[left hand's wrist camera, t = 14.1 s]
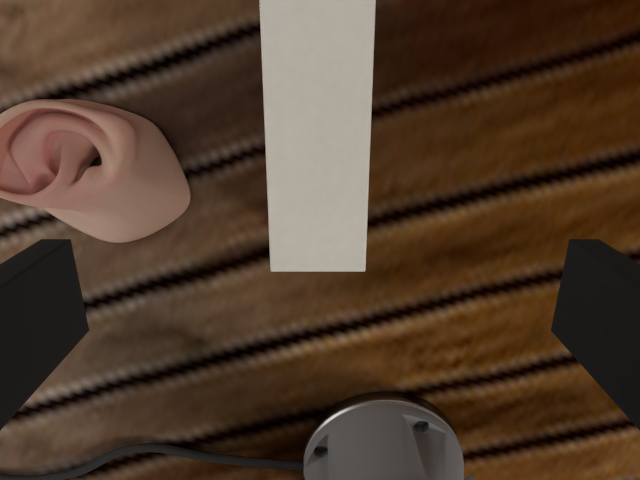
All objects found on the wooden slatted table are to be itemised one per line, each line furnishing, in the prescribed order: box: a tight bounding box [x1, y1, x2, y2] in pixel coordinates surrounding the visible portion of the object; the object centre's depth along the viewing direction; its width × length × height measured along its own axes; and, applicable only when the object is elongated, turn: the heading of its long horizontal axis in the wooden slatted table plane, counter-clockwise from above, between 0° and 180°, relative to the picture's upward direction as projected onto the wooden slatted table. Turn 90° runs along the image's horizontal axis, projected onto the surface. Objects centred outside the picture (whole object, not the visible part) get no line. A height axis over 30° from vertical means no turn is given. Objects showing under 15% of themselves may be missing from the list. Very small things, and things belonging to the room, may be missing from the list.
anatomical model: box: [0, 99, 191, 243], centre depth 33 cm, size 13×4×12 cm
